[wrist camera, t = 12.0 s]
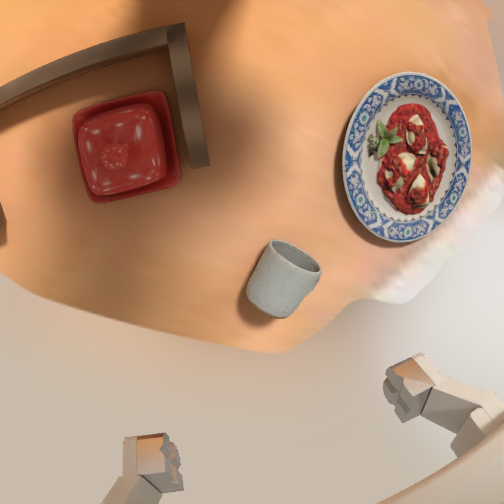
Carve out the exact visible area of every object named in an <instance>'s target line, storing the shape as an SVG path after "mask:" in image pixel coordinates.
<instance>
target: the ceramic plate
mask: <svg viewBox="0 0 504 504" xmlns="http://www.w3.org/2000/svg"><path fill="white" fill-rule="evenodd" d="M471 163H472V141H471V133H470V129H469V125H468V121H467V118H466V116H465V113H464V111H463V109H462V107H461V105H460V103H459V101H458V100H457V98H456V97H455V96H454V94H453V93H452V92H451V91H450V90H449V89H448V88H447V87H446V86H445V85H444V84H443V83H441V82H440V81H439V80H437V79H435V78H433V77H431V76H429V75H426V74H423V73H418V72H402V73H397V74H394V75H391V76H389V77H386V78H385V79H383V80H381V81H380V82H378V83H377V84H376V85H374V86H373V87H372V88H371V89H370V90H369V91H368V92H367V93H366V94H365V96H364V97H363V98H362V100H361V101H360V103H359V104H358V106H357V107H356V109H355V111H354V113H353V115H352V117H351V120H350V122H349V125H348V128H347V131H346V135H345V140H344V146H343V156H342V171H343V181H344V186H345V191H346V194H347V198H348V200H349V203H350V205H351V207H352V209H353V211H354V213H355V215H356V217H357V218H358V219H359V221H360V222H361V223H362V224H363V225H364V226H365V227H366V228H367V229H368V230H369V231H370V232H372V233H373V234H374V235H376V236H378V237H379V238H382V239H384V240H387V241H391V242H411V241H415V240H418V239H421V238H423V237H425V236H427V235H429V234H431V233H432V232H433V231H435V230H436V229H438V228H439V227H440V226H441V225H442V224H443V223H444V222H445V221H446V220H447V219H448V218H449V216H450V215H451V214H452V213H453V211H454V210H455V208H456V207H457V205H458V203H459V201H460V199H461V198H462V195H463V193H464V191H465V188H466V185H467V182H468V179H469V174H470V169H471Z"/></svg>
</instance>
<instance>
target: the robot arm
mask: <svg viewBox="0 0 504 504" xmlns="http://www.w3.org/2000/svg"><path fill="white" fill-rule="evenodd" d="M386 376H387V378H386V379H385V381H384V383H383V391H384V394H385V397H386V399H387V400H388V402H389V403H391V404H393V405H395V413H396V414H397V416H398V417H399V418H400V420H401V422H402V423H404V422H406V421H408V420H410V419H412V418H415V417H417V416H419V415H421V416H422V417H425V418H426V419H428V420H430V421H432V422H434V423H436V424H438V425H440V426H442V427H444V428H446V429H448V430H450V431H452V432H454V433H456V434H457V435H456V437H455V438H454V440H453V441H452V443H451V446H450V447H451V448H452V450H453V451H454V453H455V454H456V456H457V457H458V458H457V459H455V460H454V461H452V462H451V463H449V464H448V465H446V466H445V467H443V468H442V469H440V470H438V471H437V472H435V473H433V474H432V475H430V476H428V477H426V478H425V479H423V480H421V481H420V482H418V483H416V484H414V485H412V486H411V487H408V488H407V489H405V490H403V491H401V492H399V493H397V494H395V495H393V496H391V497H389V498H387V499H385V500H383V501H380V502H379V503H376V504H504V404H503V403H502V401H501V400H500V399H499V398H498V397H497V395H496V394H493V393H490V392H487V391H484V390H481V389H478V388H475V387H472V386H469V385H466V384H464V383H461V382H458V381H455V380H452V379H449V378H448V379H445V378H444V377H443V376H442V375H441V373H440V372H439V371H438V370H437V369H436V368H435V366H434V365H433V364H432V363H431V362H430V361H429V360H428V359H427V357H426V356H425V355H424V354H422V353H419V354H417V355H415V356H413V357H411V358H408V359H406V360H404V361H401V362H399V363H397V364H395V365H393V366H391V367H389V368H388V369H387V370H386ZM180 465H181V464H180V457H179V453H178V450H177V448H176V446H175V445H174V443H172V442H170V441H169V436H168V435H167V434H166V433H158V434H151V435H143V436H133V437H125V439H124V442H123V476H122V477H119V478H118V480H117V481H116V482H115V484H114V486H113V487H112V488H111V490H110V491H109V493H108V494H107V496H106V497H105V499H104V500H103V502H102V503H101V504H158V503H159V501H160V499H161V497H162V493H168V492H176V491H182V490H184V488H183V480H182V475H181V474H180V473H179V471H178V468H179V467H180Z"/></svg>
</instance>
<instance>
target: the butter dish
mask: <svg viewBox="0 0 504 504" xmlns="http://www.w3.org/2000/svg"><path fill="white" fill-rule="evenodd" d="M72 125H73V133H74V140H75V145H76V151H77V155H78V160H79V164H80V168H81V173H82V176H83V180H84V183H85V187H86V190H87V193H88V195H89V197H90V199H91V200H92V201H93V202H94V203H106V202H111V201H115V200H120V199H123V198H128V197H133V196H137V195H141V194H145V193H150V192H154V191H157V190H162V189H165V188H168V187H171V186H174V185H176V184H177V183H178V182H179V181H180V178H181V172H180V164H179V158H178V152H177V147H176V141H175V135H174V130H173V123H172V118H171V113H170V108H169V104H168V100H167V98H166V95H165V94H164V93H163V92H162V91H149V92H144V93H139V94H135V95H130V96H126V97H122V98H118V99H114V100H111V101H107V102H103V103H100V104H96V105H93V106H90V107H87V108H84V109H82V110H80V111H78V112H77V113H76V114H75V115H74V116H73V120H72Z"/></svg>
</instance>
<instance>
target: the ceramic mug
mask: <svg viewBox="0 0 504 504" xmlns="http://www.w3.org/2000/svg"><path fill="white" fill-rule="evenodd" d="M321 273H322V268H321V266H320V265H319V263H318V262H317V261H316V260H315V259H314V258H313V257H311V256H310V255H309V254H307V253H306V252H305V251H303V250H302V249H300V248H298V247H296V246H294V245H292V244H290V243H288V242H285V241H282V240H278V239H273V240H270V241H269V242H268V244H267V247H266V249H265V251H264V252H263V254H262V256H261V258H260V260H259V262H258V264H257V266H256V268H255V270H254V272H253V274H252V275H251V277H250V279H249V281H248V284H247V287H246V297H247V299H248V301H249V302H250V304H251V305H252V306H253V307H254V308H255V309H256V310H258V311H259V312H261V313H262V314H264V315H266V316H269V317H271V318H276V319H284V318H287V317H288V316H290V315H291V314H292V313H293V312H294V311H295V310H296V309H297V307H298V306H299V305H300V303H301V302H302V300H303V299H304V297H306V296H307V295H308V294H309V293H310V292H311V291H312V290H313V289H314V288H315V286H316V285H317V283H318V281H319V279H320V275H321Z"/></svg>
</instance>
